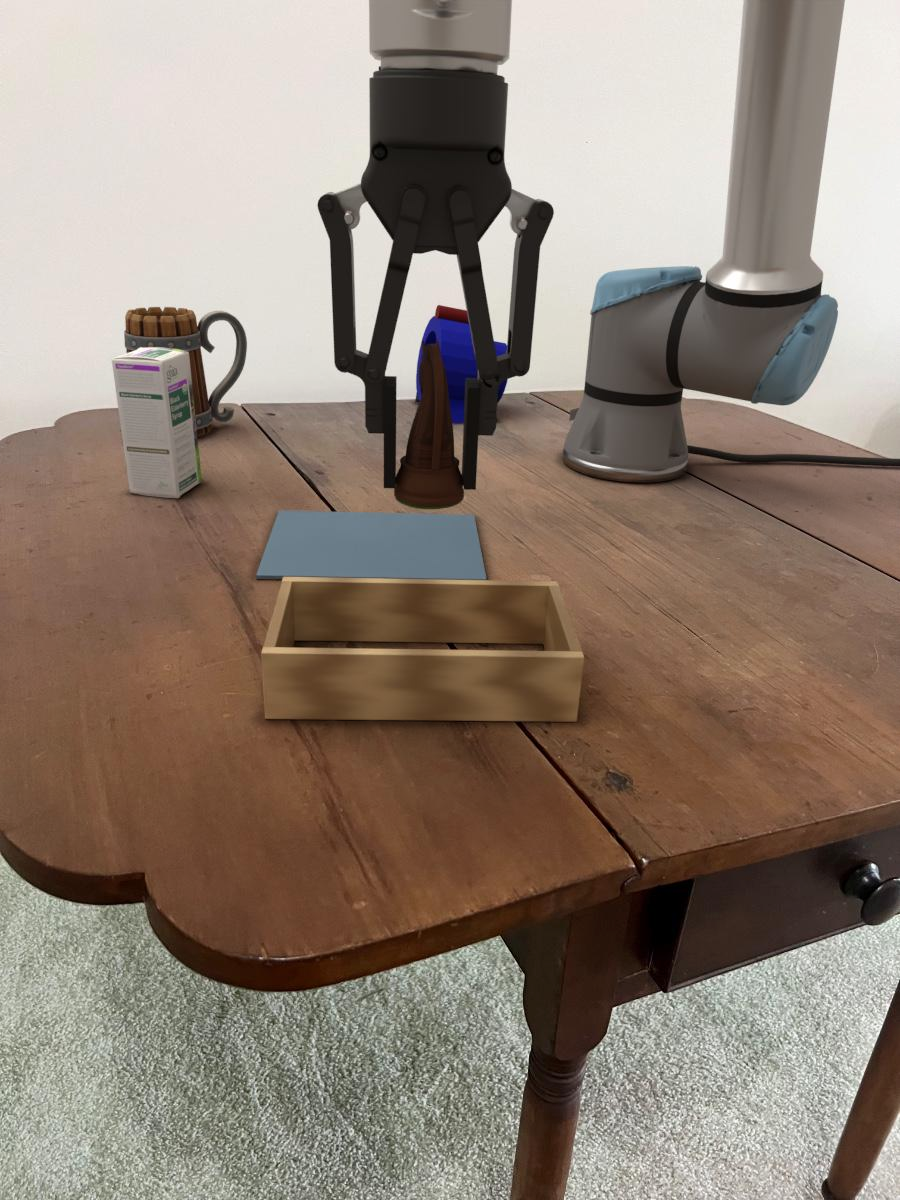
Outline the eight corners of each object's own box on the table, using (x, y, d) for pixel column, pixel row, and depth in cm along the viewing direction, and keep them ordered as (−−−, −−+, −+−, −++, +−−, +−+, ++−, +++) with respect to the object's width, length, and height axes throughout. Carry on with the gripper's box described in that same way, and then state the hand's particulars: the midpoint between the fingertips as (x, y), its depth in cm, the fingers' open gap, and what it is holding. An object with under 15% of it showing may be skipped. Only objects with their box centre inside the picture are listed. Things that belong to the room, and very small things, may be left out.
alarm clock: (410, 402, 138) (413, 298, 131) (489, 400, 141) (495, 299, 134) (428, 423, 127) (432, 311, 121) (513, 421, 130) (521, 312, 124)
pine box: (551, 639, 72) (557, 581, 69) (576, 722, 61) (584, 656, 59) (285, 635, 70) (282, 576, 68) (264, 719, 60) (260, 652, 58)
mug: (137, 446, 112) (123, 320, 106) (121, 425, 121) (108, 306, 114) (261, 435, 119) (255, 315, 112) (238, 415, 127) (232, 302, 121)
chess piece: (455, 484, 63) (460, 335, 58) (472, 511, 58) (479, 351, 54) (389, 487, 62) (389, 336, 58) (401, 514, 58) (403, 352, 53)
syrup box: (178, 499, 96) (165, 359, 90) (127, 494, 97) (110, 354, 91) (202, 483, 101) (191, 349, 95) (153, 477, 102) (139, 344, 96)
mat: (474, 518, 95) (474, 514, 95) (486, 583, 80) (486, 579, 80) (278, 513, 94) (278, 510, 93) (256, 579, 79) (255, 575, 79)
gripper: (266, 56, 46) (287, 499, 56) (614, 70, 46) (571, 504, 57) (283, 67, 52) (299, 461, 63) (587, 79, 53) (553, 466, 64)
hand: (429, 481), depth 60 cm, fingers closed on chess piece, 4 cm apart
